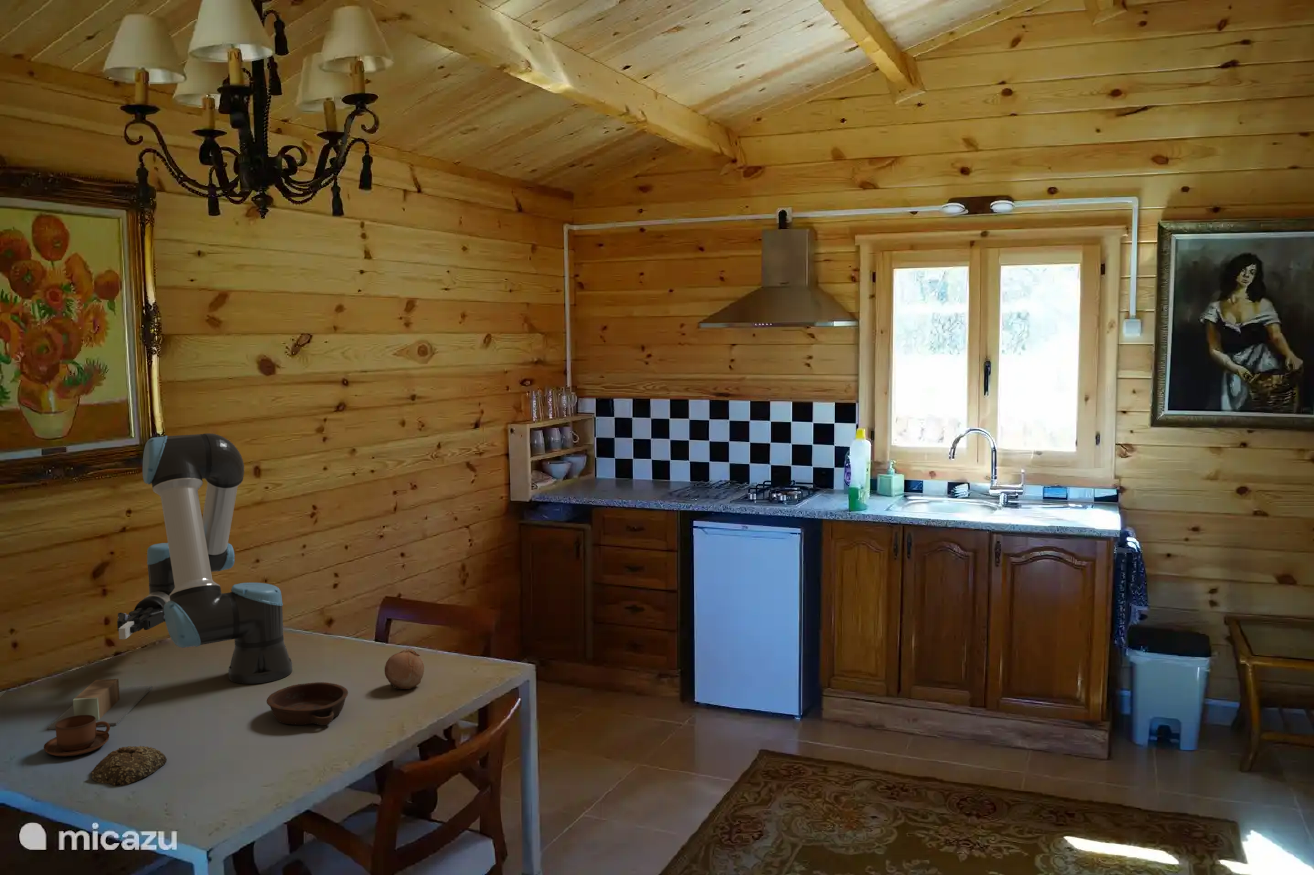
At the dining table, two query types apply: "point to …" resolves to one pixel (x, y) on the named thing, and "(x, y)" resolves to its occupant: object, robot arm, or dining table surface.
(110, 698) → the walnut block
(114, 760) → the bread roll
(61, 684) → the dining table surface
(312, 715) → the dish
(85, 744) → the cup and saucer
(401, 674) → the onion
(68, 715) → the rubber mat
